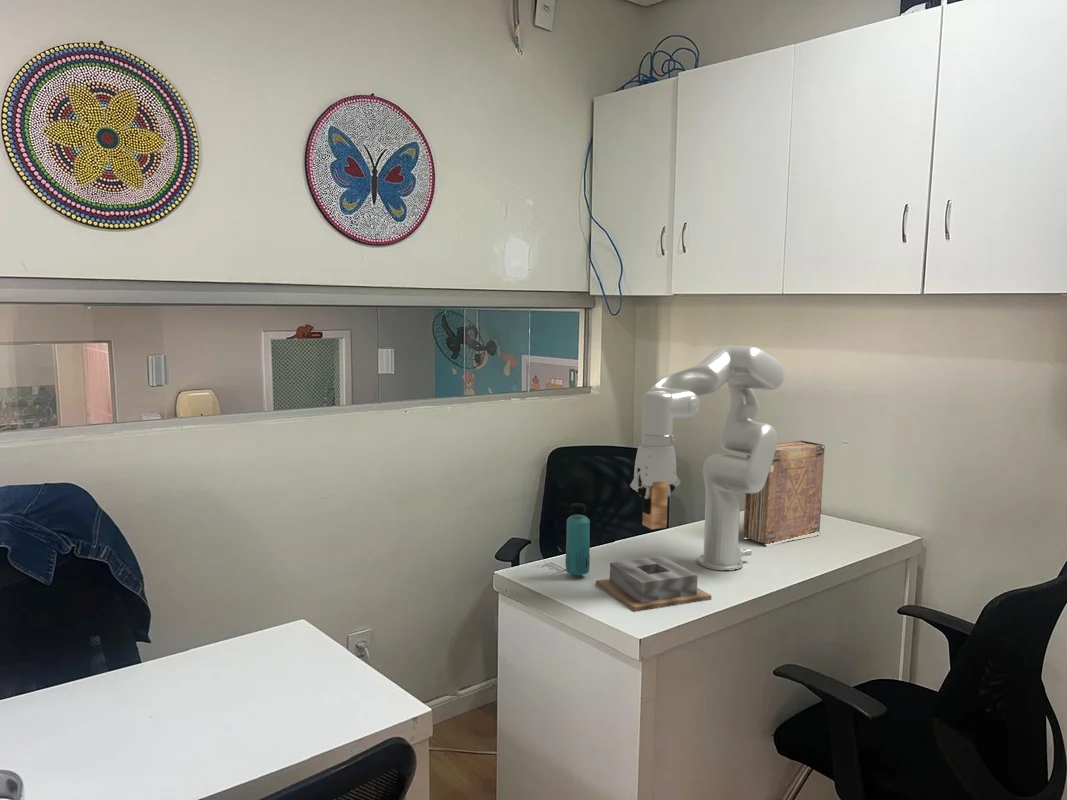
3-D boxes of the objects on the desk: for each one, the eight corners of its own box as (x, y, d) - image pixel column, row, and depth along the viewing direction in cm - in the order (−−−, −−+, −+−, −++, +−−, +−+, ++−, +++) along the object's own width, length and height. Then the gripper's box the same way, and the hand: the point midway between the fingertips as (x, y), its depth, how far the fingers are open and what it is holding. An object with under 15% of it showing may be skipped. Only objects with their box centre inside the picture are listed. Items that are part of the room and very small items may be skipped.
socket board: (667, 574, 213) (668, 552, 212) (711, 599, 194) (712, 576, 194) (595, 584, 204) (596, 561, 203) (634, 611, 186) (635, 587, 185)
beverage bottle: (587, 581, 206) (589, 507, 203) (563, 579, 207) (564, 506, 205) (590, 573, 212) (592, 501, 210) (566, 571, 213) (568, 500, 211)
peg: (657, 523, 200) (658, 477, 199) (666, 527, 196) (668, 480, 195) (642, 524, 198) (643, 478, 197) (651, 529, 194) (652, 482, 193)
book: (765, 547, 239) (769, 450, 235) (742, 539, 247) (746, 446, 243) (819, 535, 252) (825, 444, 249) (796, 528, 260) (801, 440, 256)
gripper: (677, 436, 201) (674, 505, 203) (620, 440, 195) (618, 511, 197) (693, 441, 194) (691, 512, 197) (635, 445, 188) (633, 519, 190)
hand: (654, 511), depth 197 cm, fingers closed on peg, 4 cm apart
